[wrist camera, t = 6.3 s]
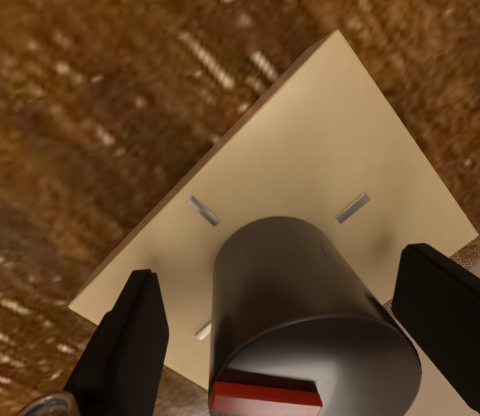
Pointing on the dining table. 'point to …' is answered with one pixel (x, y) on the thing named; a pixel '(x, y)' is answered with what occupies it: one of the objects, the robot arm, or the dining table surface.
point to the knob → (301, 331)
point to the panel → (288, 197)
